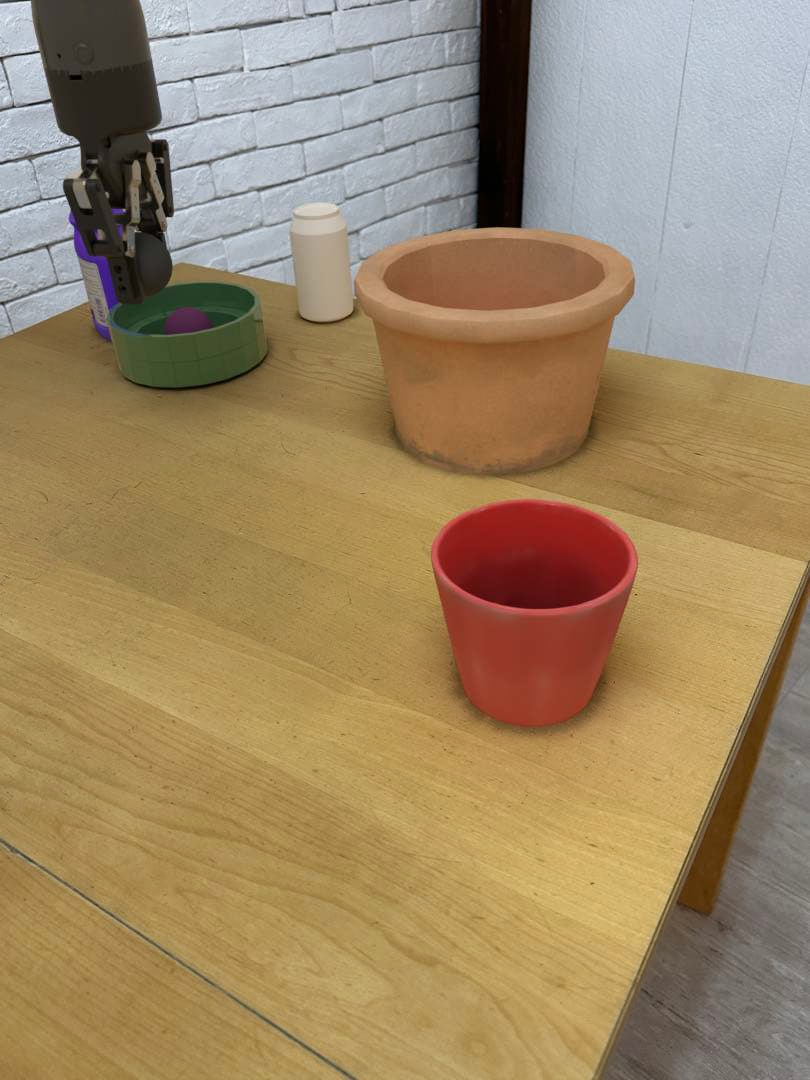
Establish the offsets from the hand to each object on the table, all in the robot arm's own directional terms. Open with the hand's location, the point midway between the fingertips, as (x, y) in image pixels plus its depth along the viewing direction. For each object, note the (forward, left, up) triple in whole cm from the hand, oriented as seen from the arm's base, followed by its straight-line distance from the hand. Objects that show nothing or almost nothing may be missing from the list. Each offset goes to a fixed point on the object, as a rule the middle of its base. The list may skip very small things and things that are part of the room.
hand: (145, 289), depth 74 cm
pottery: (+28, +3, -13) cm, 31 cm away
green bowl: (-4, +15, -13) cm, 20 cm away
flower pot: (+33, -28, -13) cm, 45 cm away
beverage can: (+7, +28, -13) cm, 32 cm away
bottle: (-15, +22, -13) cm, 30 cm away
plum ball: (-4, +15, -12) cm, 20 cm away
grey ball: (0, 0, 0) cm, 0 cm away
